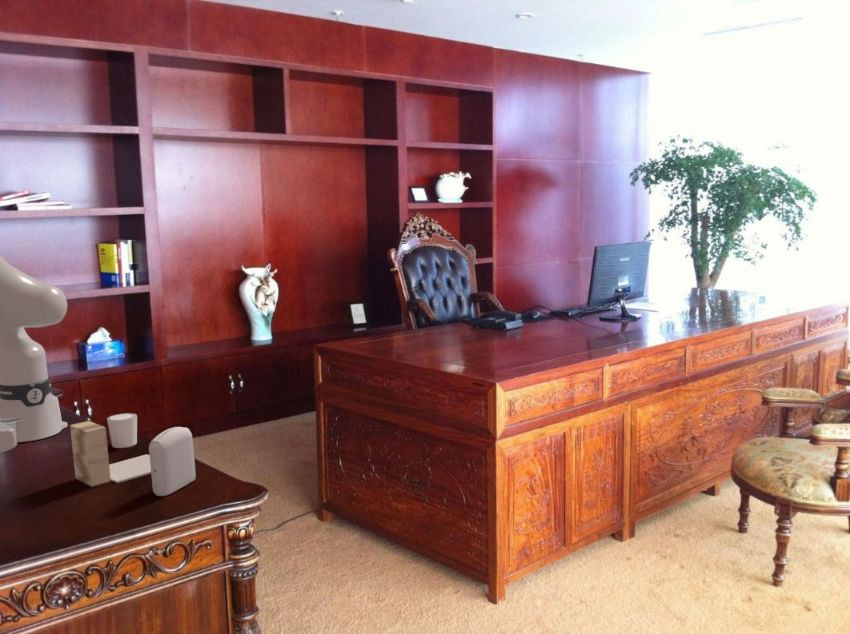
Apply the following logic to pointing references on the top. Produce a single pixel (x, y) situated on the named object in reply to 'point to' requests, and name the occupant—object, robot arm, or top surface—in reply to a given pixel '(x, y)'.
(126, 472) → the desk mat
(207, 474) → the top surface
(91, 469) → the oak block
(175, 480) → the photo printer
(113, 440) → the white tapered cup
